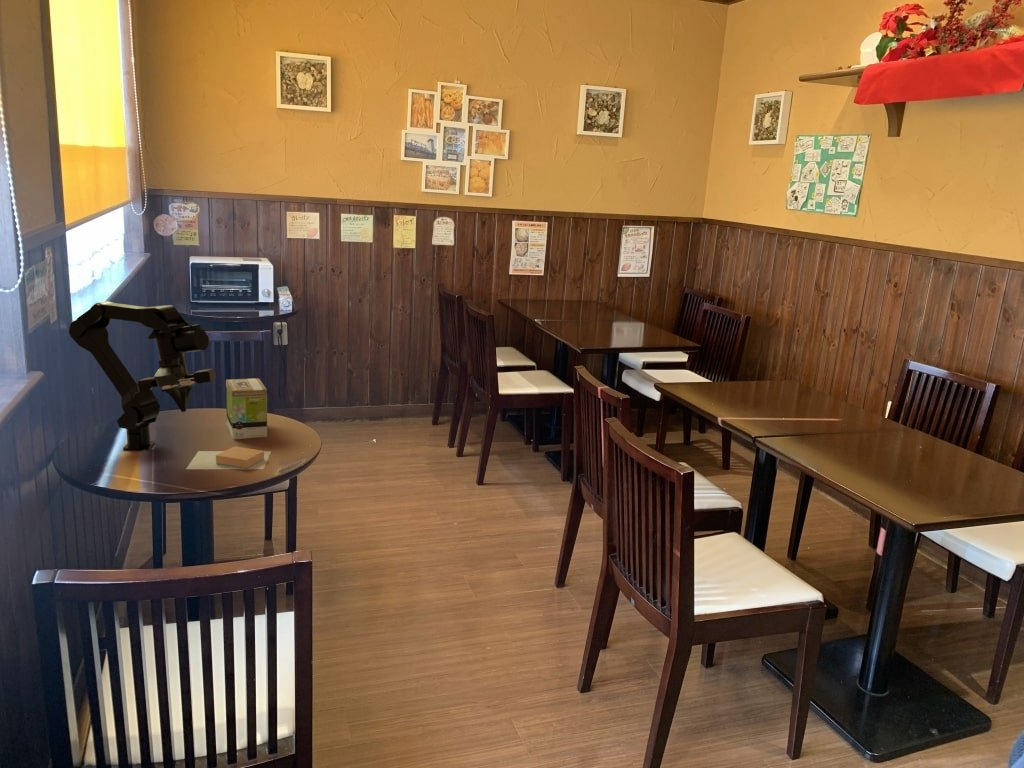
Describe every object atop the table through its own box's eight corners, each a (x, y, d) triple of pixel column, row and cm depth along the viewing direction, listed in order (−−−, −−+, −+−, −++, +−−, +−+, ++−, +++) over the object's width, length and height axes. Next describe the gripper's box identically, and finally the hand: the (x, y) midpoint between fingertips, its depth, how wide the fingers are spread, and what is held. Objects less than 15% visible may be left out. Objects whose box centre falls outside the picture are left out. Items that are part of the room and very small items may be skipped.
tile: (215, 455, 200) (246, 460, 198) (234, 446, 208) (264, 451, 205) (216, 464, 201) (246, 469, 198) (234, 454, 208) (264, 459, 206)
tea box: (268, 437, 225) (267, 388, 221) (232, 441, 220) (230, 390, 217) (260, 423, 238) (259, 376, 234) (226, 426, 233) (224, 378, 230)
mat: (198, 452, 209) (198, 451, 209) (271, 452, 213) (271, 451, 212) (185, 470, 196) (185, 469, 196) (263, 470, 199) (263, 469, 199)
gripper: (122, 363, 194) (136, 423, 196) (197, 353, 194) (209, 413, 197) (140, 357, 205) (153, 414, 207) (210, 347, 205) (222, 404, 208)
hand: (184, 411), depth 205 cm, fingers closed
